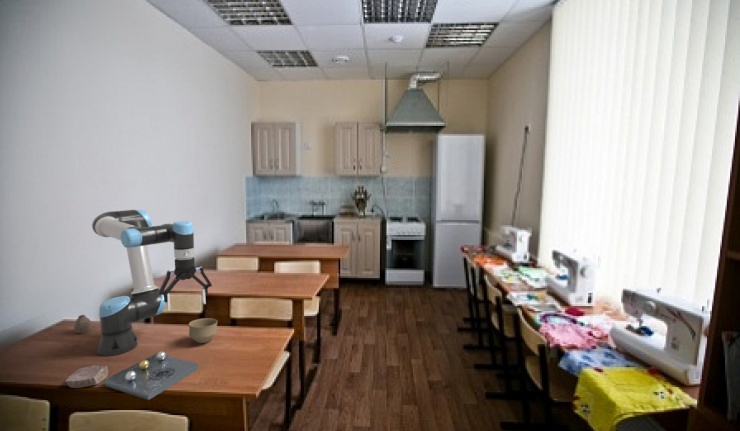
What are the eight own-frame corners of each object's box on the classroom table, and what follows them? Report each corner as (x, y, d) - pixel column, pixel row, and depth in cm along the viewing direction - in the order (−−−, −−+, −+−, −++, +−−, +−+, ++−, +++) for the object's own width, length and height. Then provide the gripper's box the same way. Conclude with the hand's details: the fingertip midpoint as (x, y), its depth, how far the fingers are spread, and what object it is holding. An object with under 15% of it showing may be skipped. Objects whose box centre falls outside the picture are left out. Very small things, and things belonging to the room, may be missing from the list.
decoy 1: (154, 361, 149) (154, 353, 148) (162, 357, 152) (161, 349, 152) (160, 362, 147) (160, 354, 147) (168, 358, 151) (167, 350, 150)
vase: (71, 334, 180) (69, 317, 179) (83, 328, 187) (82, 312, 186) (82, 335, 179) (80, 318, 178) (95, 329, 186) (93, 313, 185)
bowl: (223, 339, 174) (222, 319, 173) (199, 349, 163) (198, 329, 162) (208, 333, 181) (207, 314, 180) (184, 343, 170) (183, 323, 169)
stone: (80, 376, 142) (79, 365, 142) (111, 375, 143) (110, 364, 143) (62, 389, 133) (61, 377, 133) (95, 388, 134) (94, 377, 134)
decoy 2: (123, 381, 134) (122, 373, 133) (132, 376, 137) (131, 368, 137) (129, 383, 133) (129, 374, 132) (138, 378, 136) (138, 370, 135)
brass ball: (137, 370, 142) (136, 361, 141) (145, 365, 145) (145, 357, 145) (143, 371, 141) (142, 363, 140) (151, 367, 144) (151, 359, 143)
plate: (104, 385, 135) (104, 379, 135) (157, 358, 156) (157, 353, 156) (148, 400, 127) (148, 393, 126) (198, 369, 147) (198, 363, 147)
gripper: (150, 263, 139) (153, 315, 142) (217, 256, 154) (219, 302, 156) (149, 259, 145) (152, 309, 148) (214, 252, 160) (215, 297, 162)
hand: (187, 306), depth 152 cm, fingers open, 13 cm apart
